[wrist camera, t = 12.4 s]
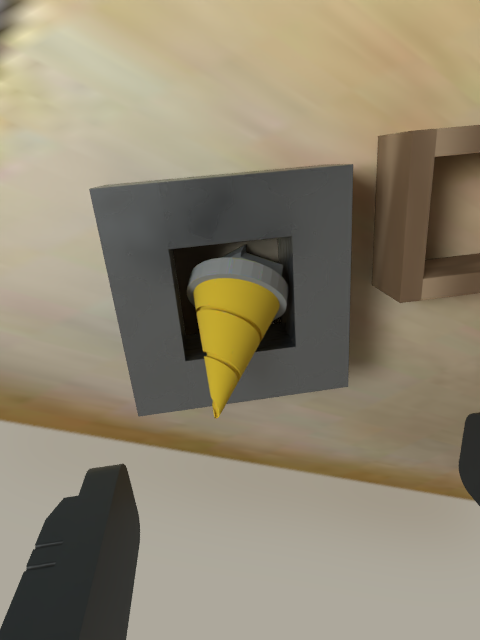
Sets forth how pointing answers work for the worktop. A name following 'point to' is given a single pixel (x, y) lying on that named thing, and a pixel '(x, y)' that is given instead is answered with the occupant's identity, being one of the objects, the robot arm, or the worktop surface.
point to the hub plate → (226, 227)
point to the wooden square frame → (417, 217)
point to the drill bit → (234, 314)
